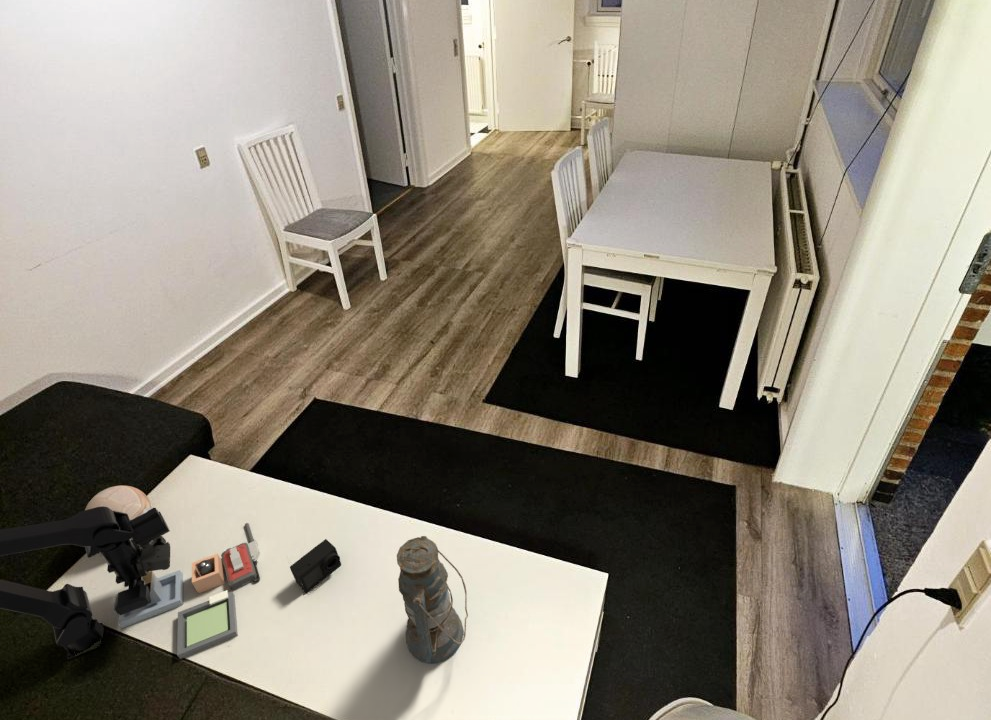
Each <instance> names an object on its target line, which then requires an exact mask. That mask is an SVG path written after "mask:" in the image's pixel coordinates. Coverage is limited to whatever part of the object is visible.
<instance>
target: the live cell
mask: <svg viewBox="0 0 991 720" xmlns="http://www.w3.org/2000/svg"><path fill="white" fill-rule="evenodd" d="M157 578H158V577H157V576H156V574H155V573H154V571H150V572H147V575H146V576H143V577H142V580H143V581H145V584H148V583H150V582H151V589H150V599H151V603H149V604H147V605H146V606H149V605H152V604H154V603H157V602H160V601H162V585H161V583H160V582H159V580H158V579H157ZM146 606H144V607H146ZM144 607H141V608H144ZM141 608H140V609H141Z"/></svg>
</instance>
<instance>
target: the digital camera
mask: <svg viewBox="0 0 991 720" xmlns="http://www.w3.org/2000/svg"><path fill="white" fill-rule="evenodd" d="M341 566H342V562H341V558H340V555H339V554H338V551H337V548H336V547H335V545H333V544H332V542H330V541H329V540H328V539H327V538H325V539H324V540H322V541H321V542H320V543H318V544H317V545H316V546H315V547H314V548H312V549H311V550H309V551H308V552H307V553H306V554H305V555H302V557H300V558H299V559H298V560H297V561H295V562H294V563H293V564H292V565H290V566H289V569H290V571H291V574H292V576H293V578H294V580H295V582H296V584H297V585H298V586H299V587H300V588H301V590H302V591H303V592H304V593H305V594H308V593H309V592H310V591H312V590H313V589H314V588H316V587H317V586H318V585H319V584H320V583H322V582H323V581H324V580H325V579H326V578H328V577H329V576H330V575H332V573H334V572H335V571H336V570H337V569H339V568H340V567H341Z"/></svg>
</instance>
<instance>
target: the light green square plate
mask: <svg viewBox="0 0 991 720" xmlns="http://www.w3.org/2000/svg"><path fill="white" fill-rule="evenodd" d="M228 630H230V620H229V605H228V602H225V603H222V604H220V605H217V606H215V607H212V608H210V609H207V610H204V611H202V612H199V613H197V614H194V615H192V616H189V617H187V618H186V647H189V646H191V645H194V644H196V643H199V642H201V641H204V640H206V639H208V638H211V637H213V636H216V635H218V634H221V633H223V632H226V631H228Z"/></svg>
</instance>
